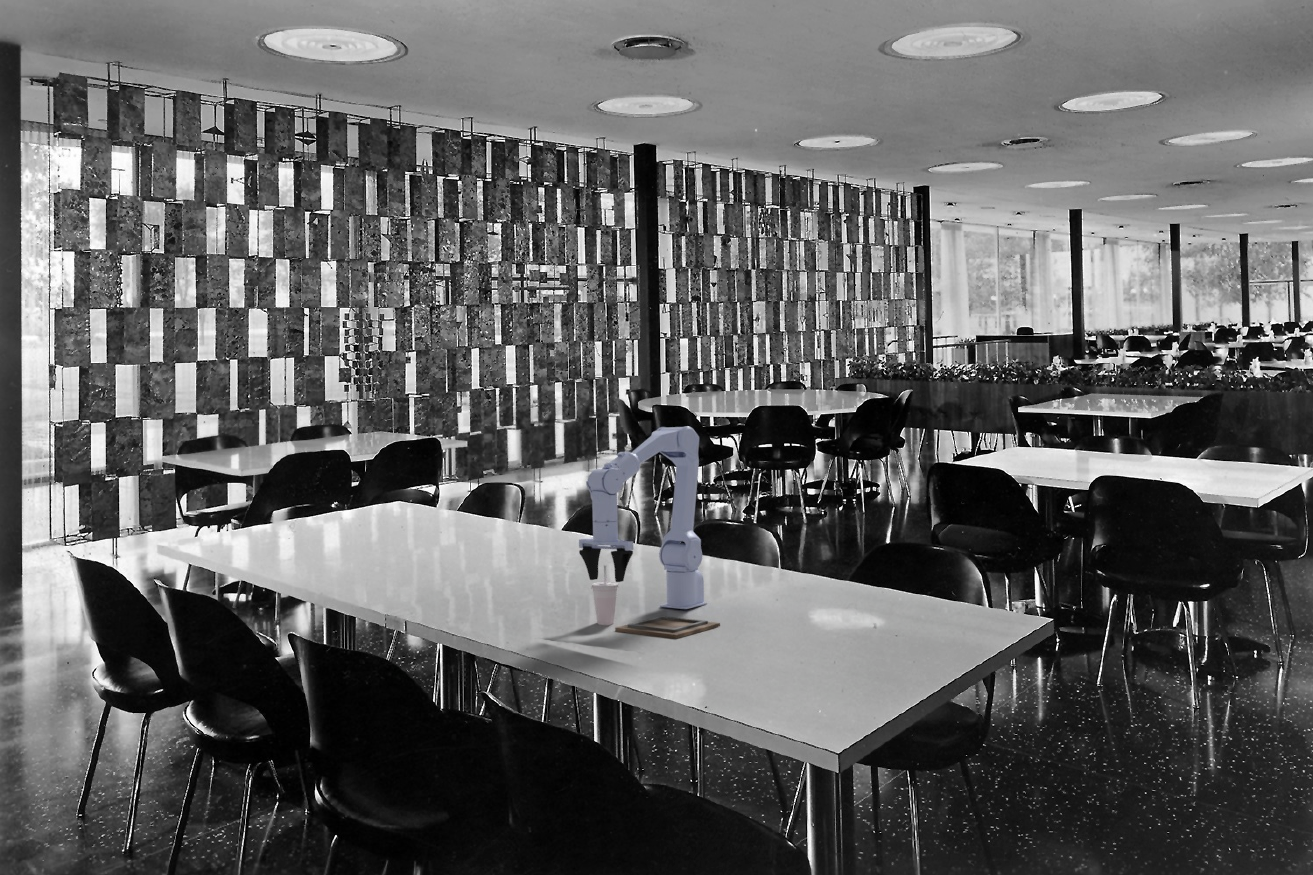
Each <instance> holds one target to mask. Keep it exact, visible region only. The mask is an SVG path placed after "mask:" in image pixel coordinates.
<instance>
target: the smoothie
mask: <svg viewBox="0 0 1313 875" xmlns="http://www.w3.org/2000/svg"><path fill="white" fill-rule="evenodd" d="M607 576H608V575H607V564H606V565H605V564H604V565H603V580H604V581H601V582H594V583H591V586H590V587H591V589H592V595H593V600H594V608H595V615H596V622H597V623H596V624H598V625H599V626H611V625H614V624H615V616H616V606H617V595H618V589H619V582H616V581H615V582H614V581H613V582H612V581H608V580H607V578H608V577H607ZM613 623H614V624H613Z"/></svg>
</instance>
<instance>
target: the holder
mask: <svg viewBox="0 0 1313 875" xmlns="http://www.w3.org/2000/svg"><path fill="white" fill-rule="evenodd" d="M718 626H719V627H721V622H714V621H713V622H712V621H708V620H702V619H695V618H694V619H693V618H686V617H685V618H684V617H683V618H682V617H674V616H665V615H660V616H658V617H651V618H648V619H644V620H641V621H640V620H639V621H636V622H632V623H628V624H625V625H620V626H617V627H616V626H615V627H614V629H615V632H618V633H627V634H628V633H629V634H635V635H641V636H642V635H643V636H652V637H659V638H668V639H680V638H684V637H687V636H690V635H695V634H698V633H702V632H706V631H710V630H712V629H713V630H714V629H715V628H718Z"/></svg>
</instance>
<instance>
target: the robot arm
mask: <svg viewBox="0 0 1313 875" xmlns="http://www.w3.org/2000/svg"><path fill="white" fill-rule="evenodd" d="M699 445H700V436H699V434H698V433H697V432H696V431H695V429H694V428H693V427H691V426H688V425H687V426H675V427H673V426H672V427H666V426H661V427H659V428H657V429H656V430H654V431H653V432H651V435H650V436H649V437H648V438H647V439H645V440H644V441H643V442H642V443H641V444H639V446H637V447H636V448H635V449H634V450H632V451H631V452H630V451H620V452H618V453H617V454H616V456H617V457H615V458H613V459H612V460H611V461H610V462H606V463H604V465H603V467H602V468H595V469H594V470H592V471H591V472H590V474H589V475H588V478H587V481H585V482H586V483H585V484H586V488H587V490H588V491H589V493H590V499H591V501H592V502H591V503H592V504H591V505H592V506H591V507H592V538H580V539H578V548H579V549H580V550H579V555H580V556H581V558H582V560H583V562H584V564H585V567H586V570H587V573H588V574H587V575H588V578H589V580H590V581H593V580H598V577H599V560H600V555H601V552H602V551H601V550H602V549H603V550H613V551H610V555H611V558H612V563H613V567H614V579H615V583H621V582H624V579H625V574H626V571H627V568H628V564H629V562H630V559H631V558H632V556H633V554H634V541H632V540H624V539H619V527H618V526H619V524H618V523H619V522H618V520H619V519H618V518H619V516H618V513H619V512H618V493H620V492H621V490H622V488H623V484H624V483H626V481H628V480H629V479H630V478H632V477H633V476H635V475H636V474H638V472H639V471H640V469H641V464H643V463H645V462H646V461H648V460H649V459H650V458H652V457H654V456H655V455H657V454H658V453H660V454H662V455H663V456H664V457H666V458H667V459H669V460H670V461H671V462H672V463H673V464H674V466H676V467H675V469H676V470H675V479H674V491H673V503H672V513H671V514H672V515H671V525H670V527H671V528H670V530H669V531H668V532H667V533H666V534H665V535H664V536H663V539H662V545H661V546H660V548H659V551H658V552H659V553H658V554H659V555H658V557H659V558H658V559H659V561H660V563H661V565H662V566H663V569H664V570H665V571H666V574H665V575H666V576H665V577H666V602H665V603H662V604H659V607H661V608H669V609H677V610H679V609H680V610H688V609H692V608H697V607H700V606H701V607H702V606H705V605H707V604H708V602H707V601H705V593H704V592H705V590H704V589H705V588H704V586H705V584H704V582H705V581H704V576H703V573H702V572H701V571H700V570H699V567H700V565H701V564H702V560H703V552H702V546H701V545H702V539H701V538H700V537H699V536H698V535H697V534H696V533H695V532H694V525H695V514H696V513H695V512H696V501H697V488H698V478H699V476H698V475H699V468H700V467H699V465H700V463H699V462H700V459H699V447H700V446H699ZM683 542H684V543H683Z"/></svg>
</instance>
